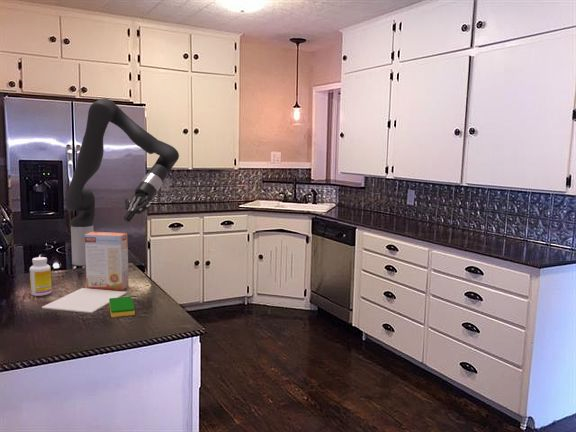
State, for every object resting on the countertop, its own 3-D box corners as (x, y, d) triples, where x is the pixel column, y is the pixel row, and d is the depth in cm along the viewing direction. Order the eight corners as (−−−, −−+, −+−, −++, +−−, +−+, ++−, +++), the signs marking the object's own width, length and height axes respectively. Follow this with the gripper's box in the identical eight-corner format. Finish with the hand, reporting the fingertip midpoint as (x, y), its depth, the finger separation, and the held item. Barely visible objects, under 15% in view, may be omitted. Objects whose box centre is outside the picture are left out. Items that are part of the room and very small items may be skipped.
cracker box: (129, 286, 183) (128, 232, 180) (122, 291, 177) (121, 235, 174) (94, 284, 184) (92, 230, 181) (86, 289, 178) (84, 233, 175)
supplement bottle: (56, 292, 173) (54, 257, 171) (39, 297, 167) (37, 261, 166) (43, 289, 176) (41, 255, 174) (26, 294, 170) (24, 259, 168)
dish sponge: (111, 318, 151) (111, 311, 150) (109, 304, 163) (109, 298, 163) (134, 316, 153) (134, 308, 153) (131, 302, 166) (131, 296, 166)
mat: (82, 289, 178) (82, 287, 178) (127, 293, 175) (126, 291, 175) (41, 308, 157) (41, 307, 157) (91, 313, 154) (91, 311, 154)
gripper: (132, 179, 195) (108, 213, 186) (156, 181, 189) (133, 215, 180) (142, 192, 200) (119, 224, 191) (166, 194, 194) (144, 228, 185)
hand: (126, 220), depth 185 cm, fingers closed
